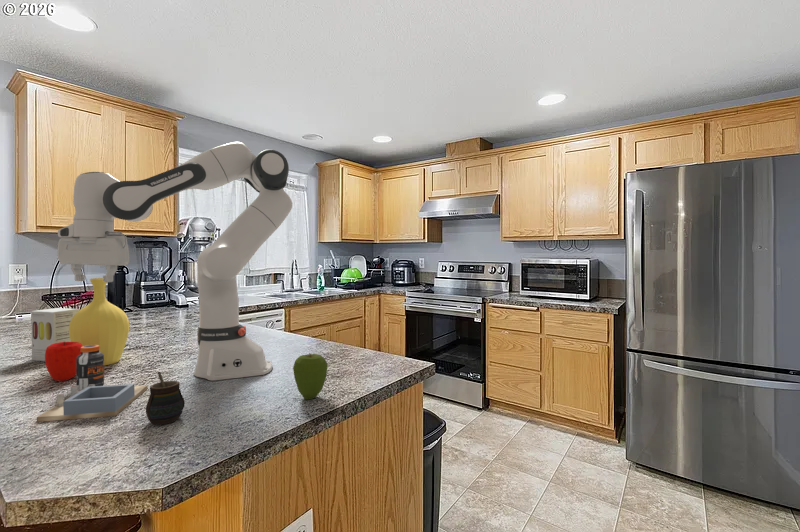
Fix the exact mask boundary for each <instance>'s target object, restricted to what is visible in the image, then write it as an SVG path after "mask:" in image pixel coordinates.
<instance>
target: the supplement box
mask: <svg viewBox="0 0 800 532" xmlns="http://www.w3.org/2000/svg"><path fill="white" fill-rule="evenodd" d="M79 310H80V309H79V308H67V307H65V308H64V307H63V308H62V307H56V308H55V307H54V308H46V309H37V310H32V311H31V312H30V313H31V316H30V317H31V361H37V362H38V361H41V362H45V351H46V349H47V347H48V346H50V345H51V344H55V343H59V342H71V341H70V337H69V324H70V321H71V319H72V317H73V316H74V315H75V314H76V313H77V312H78V311H79Z"/></svg>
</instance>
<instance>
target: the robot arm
mask: <svg viewBox="0 0 800 532" xmlns="http://www.w3.org/2000/svg"><path fill="white" fill-rule="evenodd" d="M289 173H290V169H289V163H288V159H287V158H286V157H285V155H284V154H282V153H281V152H280V151H278V150H274V149H265V150H263V151H261V152H259V153H258V154H257V155H255V154H254V153H253V152H252V151H251V149H250V148H249V147H248V146H247V145H246V144H244V143H243V142H240V141H233V142H229V143H226V144H221V145H218V146H216V147H212V148H210V149H207V150H205V151H202V152H200V153H199V154H197V155H195V156H194V157H191V158H190V159H188V160H187V161H185V162H182V163H181V164H180V165H177V166H176V167H174V168H173V167H172V168H171V169H168V170H166V171H163V172H161V173H157V174H155V175H153V176H150V177H148V178H144V179H141V180H140V179H139V180H119V179H117V178H115V177H114V176H112V175H111V173H108V172H104V171H101V172H100V171H89V172H84V173H83V172H82V173H80V174H79V175H77V177H76V178H75V182H74V187H73V195H72V196H73V200H72V201H73V202H72V203H73V207H74V210H75V211H74V216H73V219H72V221H73V223H70V224H69V225H67V226H64V227H61V228H59V229H57V236H58V238H59V239H58V242H57V259H58V261H59V263H60V264H61V265H70V270H71V272H72V273H73V275H74V282H85V280H86V275H85V274H83V271H82V269H83V266H84V265H85V266H86V265H87V266H105V270H107V271H106V273H105V275H102V278H103V282H107V283H113V282H114V276H115V274H116V273H117V270H118V267H119V266H120V267H121V266H122V267H123V266H127V265H128V264H129V263H130V250H129V245H128V244H129V243H128V241H127V238H128V237H127V236H126V235H125V234H124V233H123V232H122V231H115V229H114V226H115V225H114V222H115V221H114V220H115V219H119V220H122V221H123V220H124V221H128V222H133V223H134V222H141V221H143V220H145V219H148V217H150V215H151V214H152V212H153V208H154V206H153V205H154V204H155V203H157V202H160V201H161V200H164V199H167V198H169V197H171V196H174V195H176V194H179V193H181V192H183V191H187V190H202V191H209V190H213V189H216V188H220V187H222V186H225V185H227V184H230V183H231V182H234V181H236V180H238V179H244V181H245V182H246V183H247V184H248V185H250V187H252V188H253V189H254V190H255V191H256V192H257V193H258V196H257V197H256V198H255V199H254V200H253V201H252V202H251V203H250V204H249V205H248V206H247V207H246V209H244V210H243V211H242V212H241V214H239V215H238V216H237V217H236V218H235V219H234V220H233V221H232V222H231V223H230V224H229V226H227V228H226V229H225V230H224V231H223V232H222V233H221V234H220V235H219V236H218V237H217V239H215V241H214V242H213V243H211V245H209V246H207V247H205V248H204V249H202V251H201V252H199V255H198V257H197V261H196V264H197V266H196V267H197V269H196V270H197V284H198V285H197V287H198V304H199V305H198V307H199V308H198V309H199V310H198V313H199V314H198V316H199V320H198V321H199V326H198V328H197V345H198V351H197V353H198V354H197V360H196V364H195V368H194V373H193V375H194V376H195V377H197V378H200V379H201V378H202V379H206V380H208V381H222V380H230V379H239V378H246V377H255V376H263V375H266V374H269V373H270V372H271V371H272V370H273V366H274V365H273V363H272V361H270V360H268V359H266V353H265V351H264V348H263V347H262V346H261V345H260V344H258V343H256V342H255V341H253V340H252V339H250V338H249V337H247V328H246V325H244V326H243V325H242V324H241V323H240V307H239V306H240V305H239V304H240V303H239V302H240V300H239V293H238V284H237V275H239V273H240V272H241V271H242V270H243V269H244V268H245V266H246V265H247V264H248V263H249V261H250V260H251V259H252V258H253V256H254V255H255V254H256V252H257V251H259V248H261V246H262V245H264V243H266V241H267V240H268V239H269V238H270V237H271V236H272V235H273V234H274V232H275V231H277V229H279V227H280V226H281V225H283V223H284V221H285V220H286V219H287V217H289V216H288V215H289V214H290V212H291V210H292V209H293V200H292V199H291V197H290V195H289V194H288V193H287V192H286V191H285V190H284V188H286V185H287V181H288V177H289Z"/></svg>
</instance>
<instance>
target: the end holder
mask: <svg viewBox="0 0 800 532" xmlns="http://www.w3.org/2000/svg"><path fill="white" fill-rule="evenodd" d="M134 386H135V383H128V384H112V385H103V386H92V387H87V388H85V389H83V390H82V391H81V390H79V391H80V392H78V393H77V394H75V395H73V396H72V397H70V396H69V397H70V398H69V397H67V398H66V399H67V400H66V399H64V400H65V401H63V411H64V415H73V414H87V413H100V412H113V411H117V410H118V409H119V408H120V407H122V406H123V405H124V404H125V403H126V402H128V401H129V400H130V399H131V398H133V397H134V396H135V392H134Z"/></svg>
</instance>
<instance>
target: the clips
mask: <svg viewBox="0 0 800 532" xmlns="http://www.w3.org/2000/svg"><path fill="white" fill-rule="evenodd" d="M92 386H95V384H89V385H88V386H87V387H92ZM80 391H81V390H79V385H76V384H75V385H73V384H72V386H70V395H69V397H72V396H73V395H75V394H77V393H78V392H80ZM64 400H65V393H60V394H59V393H58V394H56V405H55V406H57V407H60V406H63V401H64Z"/></svg>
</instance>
